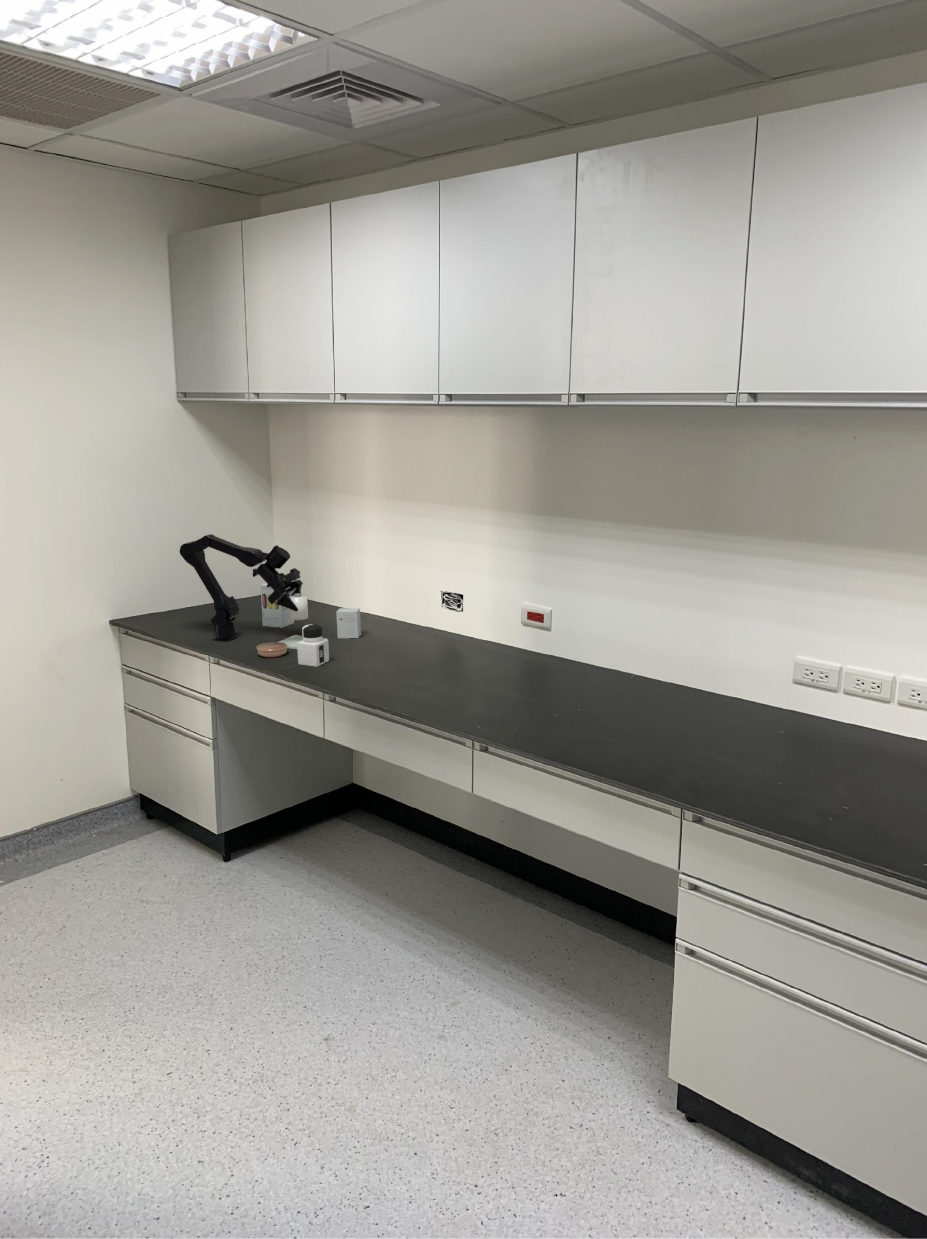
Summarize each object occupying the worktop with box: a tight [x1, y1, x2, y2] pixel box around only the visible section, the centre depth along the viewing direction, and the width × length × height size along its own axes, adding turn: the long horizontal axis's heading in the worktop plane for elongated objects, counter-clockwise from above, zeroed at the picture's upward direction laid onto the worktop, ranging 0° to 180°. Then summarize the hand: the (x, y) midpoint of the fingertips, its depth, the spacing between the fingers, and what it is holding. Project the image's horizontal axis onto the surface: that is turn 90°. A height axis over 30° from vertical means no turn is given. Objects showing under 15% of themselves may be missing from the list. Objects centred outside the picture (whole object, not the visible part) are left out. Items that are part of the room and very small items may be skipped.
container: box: [296, 623, 330, 668], centre depth 298 cm, size 8×8×13 cm
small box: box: [335, 607, 362, 639], centre depth 331 cm, size 8×6×10 cm
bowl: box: [256, 641, 288, 658], centre depth 310 cm, size 11×11×3 cm
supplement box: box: [260, 582, 295, 629], centre depth 350 cm, size 10×9×17 cm
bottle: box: [289, 592, 309, 621], centre depth 320 cm, size 7×7×9 cm
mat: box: [278, 634, 327, 650], centre depth 324 cm, size 14×14×1 cm
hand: (301, 608), depth 320 cm, fingers closed on bottle, 7 cm apart
